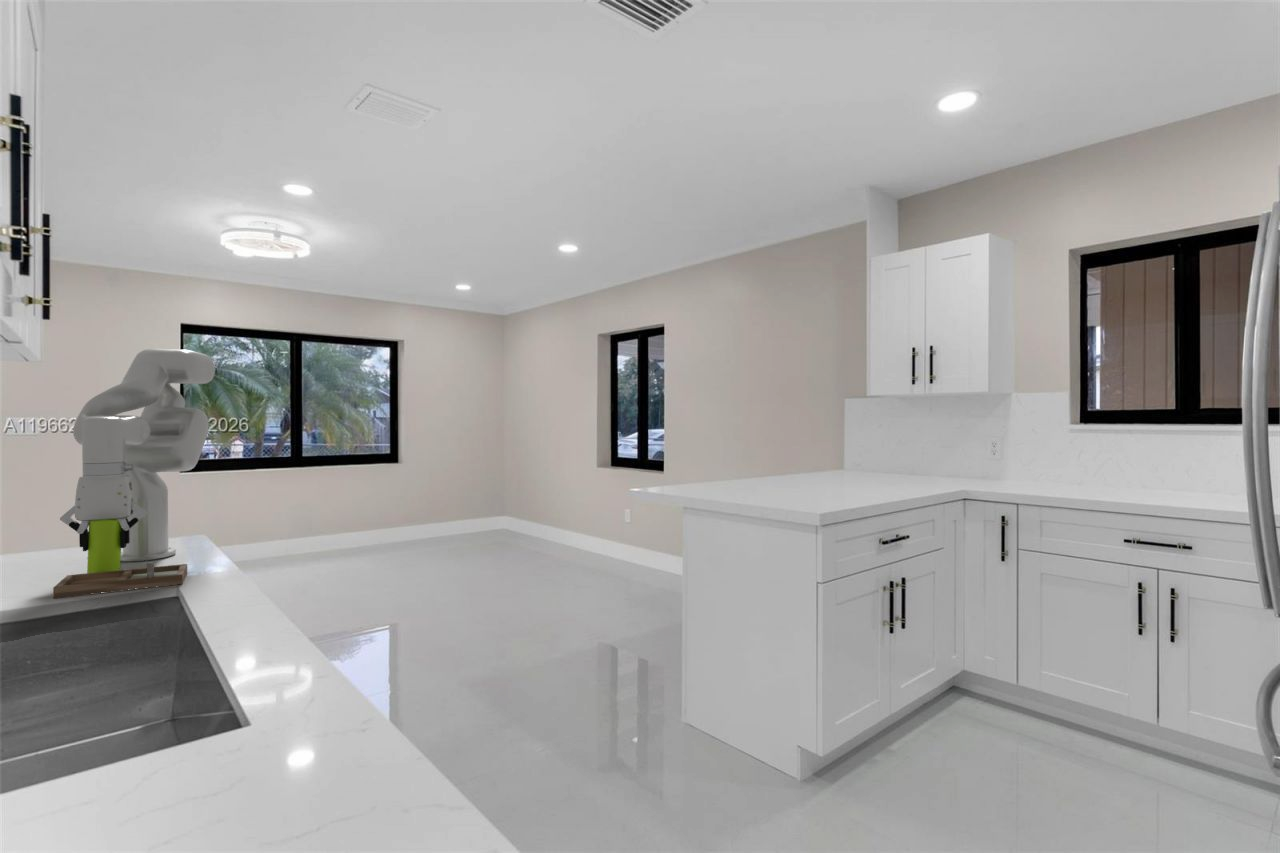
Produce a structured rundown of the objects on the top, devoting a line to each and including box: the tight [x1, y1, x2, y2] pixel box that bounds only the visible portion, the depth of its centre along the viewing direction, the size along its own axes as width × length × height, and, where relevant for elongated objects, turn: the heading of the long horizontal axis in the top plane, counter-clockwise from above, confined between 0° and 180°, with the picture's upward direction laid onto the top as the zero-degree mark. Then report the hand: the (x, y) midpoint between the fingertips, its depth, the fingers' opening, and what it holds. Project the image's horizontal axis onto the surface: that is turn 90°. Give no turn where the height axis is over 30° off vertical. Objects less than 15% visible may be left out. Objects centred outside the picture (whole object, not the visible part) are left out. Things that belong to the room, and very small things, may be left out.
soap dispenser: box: [86, 492, 122, 573], centre depth 149 cm, size 6×7×20 cm
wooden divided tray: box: [52, 562, 188, 599], centre depth 143 cm, size 11×22×5 cm, turn 121°
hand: (105, 547), depth 149 cm, fingers closed on soap dispenser, 6 cm apart
